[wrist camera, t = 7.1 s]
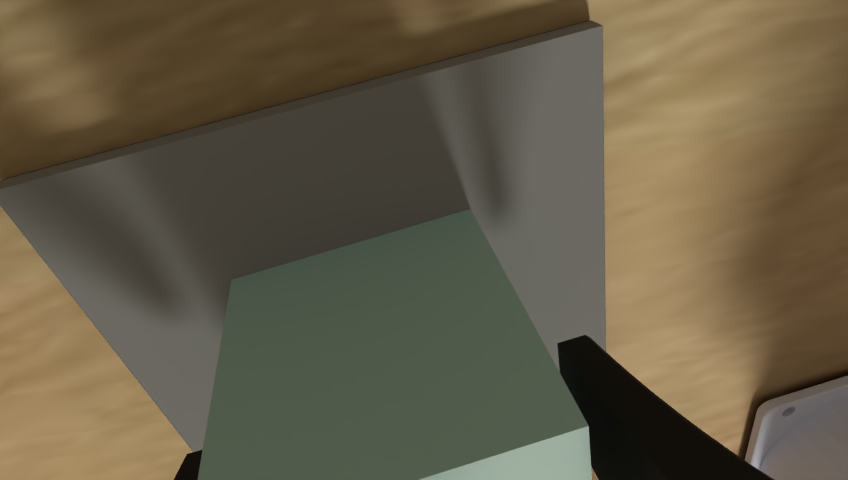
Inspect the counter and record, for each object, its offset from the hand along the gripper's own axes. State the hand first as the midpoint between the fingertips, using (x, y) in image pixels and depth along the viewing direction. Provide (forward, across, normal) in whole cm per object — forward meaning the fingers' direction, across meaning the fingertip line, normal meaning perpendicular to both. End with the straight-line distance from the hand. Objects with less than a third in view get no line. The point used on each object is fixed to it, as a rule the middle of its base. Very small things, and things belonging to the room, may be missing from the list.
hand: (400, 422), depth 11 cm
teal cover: (+3, 0, 0) cm, 3 cm away
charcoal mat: (+3, 0, 0) cm, 3 cm away
